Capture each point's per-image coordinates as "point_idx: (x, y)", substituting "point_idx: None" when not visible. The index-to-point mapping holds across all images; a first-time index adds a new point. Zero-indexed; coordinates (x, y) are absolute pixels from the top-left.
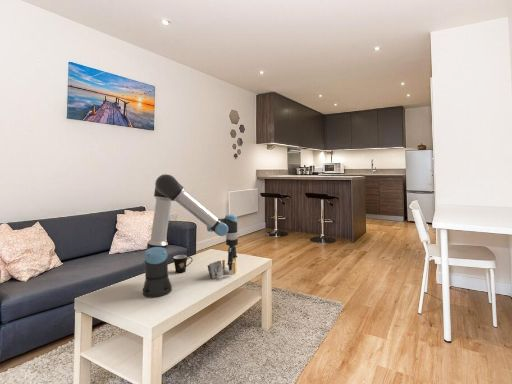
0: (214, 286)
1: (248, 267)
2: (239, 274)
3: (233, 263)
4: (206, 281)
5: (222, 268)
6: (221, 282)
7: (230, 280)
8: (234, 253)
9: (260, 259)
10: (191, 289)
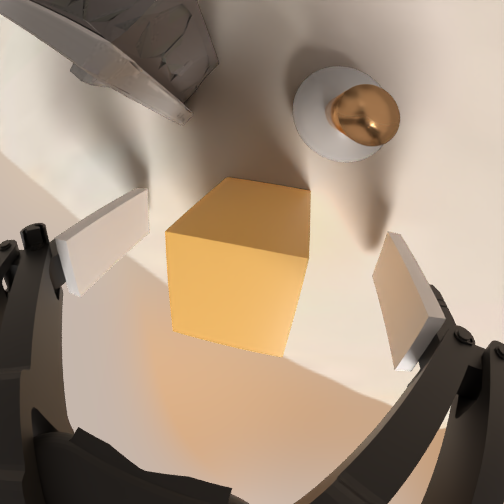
0: (10, 117)
1: (380, 360)
2: None
3: (173, 306)
4: None
5: (157, 112)
6: (46, 143)
7: (78, 205)
8: (349, 456)
9: None
10: (2, 17)
